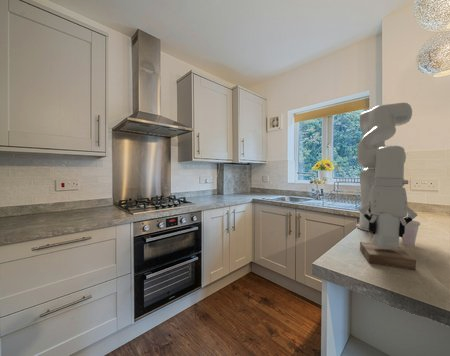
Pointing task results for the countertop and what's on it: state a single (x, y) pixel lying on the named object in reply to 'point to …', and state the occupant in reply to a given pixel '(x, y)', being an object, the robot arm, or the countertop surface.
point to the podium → (387, 256)
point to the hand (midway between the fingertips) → (385, 234)
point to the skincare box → (386, 231)
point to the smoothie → (410, 233)
